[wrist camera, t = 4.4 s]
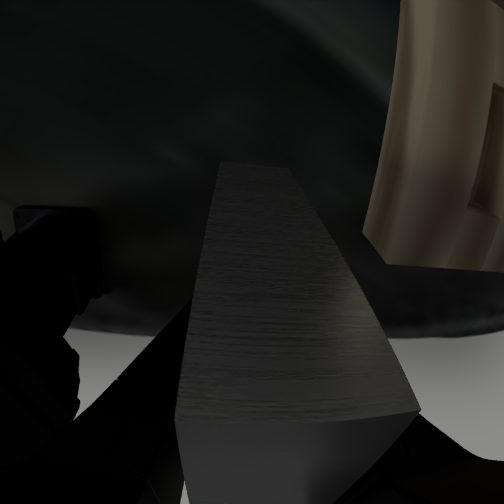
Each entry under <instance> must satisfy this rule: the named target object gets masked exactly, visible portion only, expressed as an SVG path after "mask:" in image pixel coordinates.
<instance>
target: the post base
mask: <svg viewBox="0 0 504 504" xmlns="http://www.w3.org/2000/svg"><path fill="white" fill-rule="evenodd" d="M362 233H363V234H364V235H365V236H366V238H367V239H368V240H369V241H370V243H371V244H372V245H373V247H374V248H375V249H376V250H377V252H378V253H379V254H380V256H381V257H382V258H383V260H384V261H385V262H386V263H387V264H393V265H407V266H421V267H435V268H449V269H464V270H478V271H492V272H504V0H401V7H400V21H399V33H398V43H397V52H396V61H395V69H394V77H393V84H392V91H391V97H390V104H389V110H388V116H387V122H386V127H385V133H384V138H383V143H382V148H381V153H380V158H379V163H378V168H377V173H376V177H375V182H374V186H373V190H372V195H371V199H370V203H369V207H368V211H367V215H366V219H365V223H364V227H363V231H362Z"/></svg>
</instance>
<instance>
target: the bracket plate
mask: <svg viewBox="0 0 504 504" xmlns="http://www.w3.org/2000/svg"><path fill="white" fill-rule="evenodd" d="M420 411H421V408H420V406H419V403H418V401H417V399H416V397H415V395H414V392H413V390H412V388H411V386H410V384H409V382H408V380H407V378H406V375H405V373H404V371H403V369H402V367H401V365H400V363H399V361H398V359H397V357H396V355H395V353H394V351H393V349H392V347H391V345H390V343H389V341H388V339H387V337H386V335H385V333H384V331H383V329H382V327H381V325H380V323H379V321H378V320H377V318H376V316H375V314H374V312H373V310H372V308H371V306H370V305H369V303H368V301H367V299H366V297H365V295H364V293H363V292H362V290H361V288H360V286H359V284H358V283H357V281H356V279H355V277H354V275H353V274H352V272H351V270H350V268H349V267H348V265H347V263H346V261H345V260H344V258H343V256H342V254H341V253H340V251H339V249H338V248H337V246H336V244H335V242H334V241H333V239H332V237H331V236H330V234H329V232H328V231H327V229H326V227H325V226H324V224H323V222H322V221H321V219H320V218H319V216H318V214H317V213H316V211H315V209H314V208H313V206H312V205H311V203H310V201H309V200H308V198H307V197H306V195H305V193H304V192H303V190H302V189H301V187H300V186H299V184H298V182H297V181H296V179H295V178H294V176H293V175H292V173H291V172H290V170H289V169H288V168H279V167H270V166H261V165H251V164H240V163H228V162H220V166H219V170H218V175H217V179H216V184H215V188H214V193H213V197H212V202H211V207H210V212H209V216H208V221H207V226H206V231H205V236H204V241H203V246H202V251H201V257H200V262H199V267H198V272H197V278H196V283H195V289H194V294H193V300H192V306H191V312H190V317H189V323H188V329H187V336H186V342H185V348H184V355H183V361H182V368H181V374H180V381H179V388H178V395H177V403H176V410H175V418H174V420H175V427H176V434H177V440H178V446H179V452H180V458H181V463H182V469H183V474H184V480H185V484H186V490H187V494H188V498H189V504H332V503H333V502H334V501H335V500H337V499H338V498H339V497H340V496H341V495H342V494H343V493H344V492H346V491H347V490H348V489H349V488H350V487H351V486H352V485H353V484H354V483H355V482H356V481H357V480H358V479H359V478H361V477H362V476H363V475H364V474H365V473H366V472H367V471H368V470H369V469H370V468H371V467H372V466H373V465H374V463H375V462H376V461H377V460H378V459H379V458H380V457H381V456H382V455H383V454H384V453H385V452H386V451H387V450H388V449H389V447H390V446H391V445H392V444H393V443H394V442H395V441H396V440H397V438H398V437H399V436H400V435H401V434H402V433H403V431H404V430H405V429H406V428H407V427H408V425H409V424H410V423H411V422H412V421H413V419H414V418H415V417H416V416H417V414H418V413H419V412H420Z"/></svg>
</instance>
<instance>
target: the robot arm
mask: <svg viewBox="0 0 504 504" xmlns="http://www.w3.org/2000/svg"><path fill="white" fill-rule="evenodd" d="M18 212H19V213H20V215H21V216H20V215H19V214H18ZM83 215H86V216H87V217H88V220H86V219H85V218H84V216H83ZM13 219H14V225H15V230H16V232H15V233H14V234H13V235H12V236H11V237H10V238H8V239H7V240H6V241H5V242H4V241H3V239H2V236H3V235H2V233H1V231H0V504H180V501H181V496H182V490H183V485H184V474H183V469H182V463H181V458H180V452H179V446H178V440H177V434H176V427H175V420H174V418H175V410H176V403H177V395H178V388H179V381H180V374H181V368H182V361H183V355H184V348H185V342H186V336H187V329H188V323H189V317H190V312H191V306H192V300H193V299H191V300H190V301H189V302H188V303H187V304H186V305H185V306H184V307H183V308H182V309H181V310H180V311H179V313H178V314H177V315H176V316H175V317H174V318H173V319H172V320H171V321H170V322H169V323H168V324H167V325H166V326H165V327H164V328H163V329H162V331H161V332H160V333H159V334H158V335H157V336H156V337H155V338H154V339H153V340H152V341H151V342H150V343H149V344H148V346H147V347H146V348H145V349H144V350H143V351H142V352H141V353H140V354H139V355H138V356H137V357H136V358H135V359H134V360H133V362H132V363H131V364H130V365H129V366H128V367H127V368H126V369H125V370H124V372H122V373H121V374H120V376H119V377H118V378H117V380H115V381H114V382H113V383H112V384H111V385H110V386H109V387H108V388H107V389H106V390H105V391H104V392H103V393H102V394H101V395H100V396H99V397H98V398H97V399H96V400H95V401H94V402H93V403H92V405H90V406H89V407H88V408H87V409H86V410H85V411H83V412H82V413H81V414H80V415H79V416H78V417H77V418H76V419H74V418H75V416H76V414H77V411H78V409H79V407H80V400H79V399H78V398H77V395H78V390H79V384H80V377H79V372H78V371H79V354H78V353H77V352H76V351H75V349H72V348H71V347H70V345H69V344H68V343H67V341H66V340H65V339H64V337H63V336H64V335H65V333H66V331H67V329H68V328H69V326H70V324H71V322H72V320H73V319H74V317H75V315H81V314H82V313H83V312H84V310H85V309H86V307H87V305H88V303H89V301H90V300H91V298H96V299H98V298H100V297H101V296H102V294H103V285H102V279H103V277H104V275H103V268H102V260H101V253H100V245H99V243H98V242H97V241H96V232H95V222H94V215H93V212H92V211H91V210H89V209H86V208H61V207H28V206H19V207H17V208H16V209H14V211H13ZM96 290H97V291H98V292H95V291H96ZM332 504H504V461H497V460H488V459H484V458H481V457H478V456H476V455H474V454H472V453H470V452H469V451H467V450H466V449H464V448H463V447H462V446H460V445H459V444H458V443H456V442H455V441H454V440H452V439H451V438H450V437H448V436H447V435H446V434H445V433H443V432H442V431H440V430H439V429H438V428H437V427H435V426H434V425H433V424H431V423H430V422H429V421H428V420H426V419H425V418H424V417H423V416H421V415H420V414H419V413H418V414H417V416H416V417H415V418H414V419H413V421H412V422H411V423H410V424H409V425H408V427H407V428H406V429H405V430H404V431H403V433H402V434H401V435H400V436H399V437H398V438H397V440H396V441H395V442H394V443H393V444H392V445H391V446H390V447H389V449H388V450H387V451H386V452H385V453H384V454H383V455H382V456H381V457H380V458H379V459H378V460H377V461H376V462H375V463H374V465H373V466H372V467H371V468H370V469H369V470H368V471H367V472H366V473H365V474H364V475H363V476H362V477H361V478H359V479H358V480H357V481H356V482H355V483H354V484H353V485H352V486H351V487H350V488H349V489H348V490H347V491H346V492H344V493H343V494H342V495H341V496H340V497H339V498H338V499H337V500H335V501H334V502H333V503H332Z"/></svg>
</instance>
